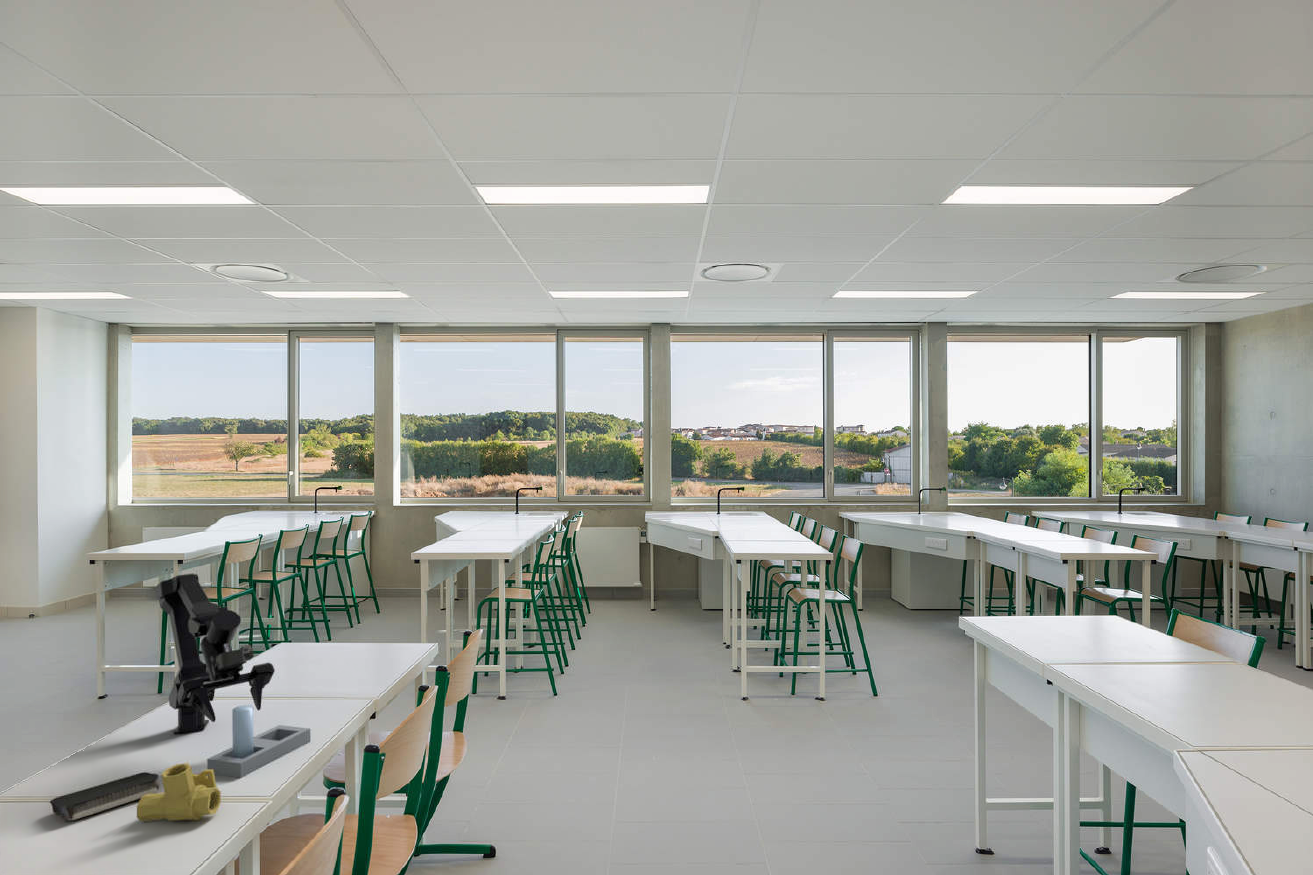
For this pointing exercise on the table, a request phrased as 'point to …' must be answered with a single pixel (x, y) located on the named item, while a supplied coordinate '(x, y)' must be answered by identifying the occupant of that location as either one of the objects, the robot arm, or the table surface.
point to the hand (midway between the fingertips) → (237, 714)
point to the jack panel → (260, 751)
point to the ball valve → (181, 796)
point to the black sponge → (105, 796)
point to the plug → (242, 731)
